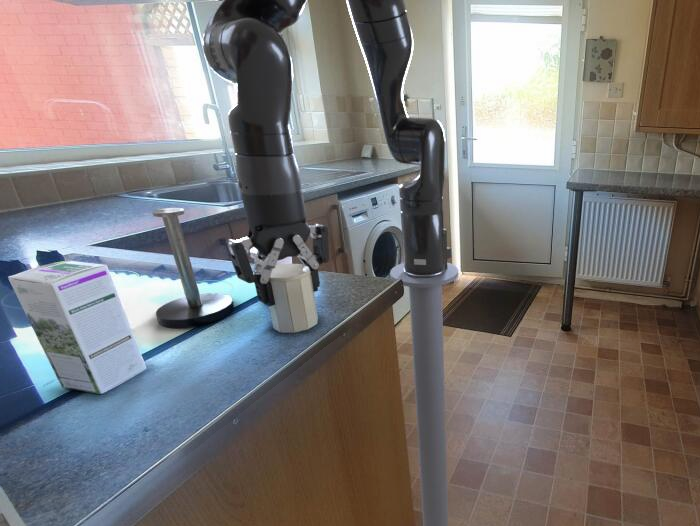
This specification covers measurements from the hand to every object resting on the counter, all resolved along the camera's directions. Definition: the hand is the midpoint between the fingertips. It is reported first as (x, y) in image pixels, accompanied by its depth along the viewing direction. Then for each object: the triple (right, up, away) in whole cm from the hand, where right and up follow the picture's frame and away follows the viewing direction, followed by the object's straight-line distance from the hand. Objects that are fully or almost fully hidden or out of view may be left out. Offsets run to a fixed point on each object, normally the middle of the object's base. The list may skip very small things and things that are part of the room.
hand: (291, 296), depth 63 cm
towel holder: (-17, -3, +3) cm, 18 cm away
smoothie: (-7, -1, +9) cm, 12 cm away
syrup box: (-16, -10, -13) cm, 23 cm away
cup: (0, -4, +2) cm, 5 cm away
